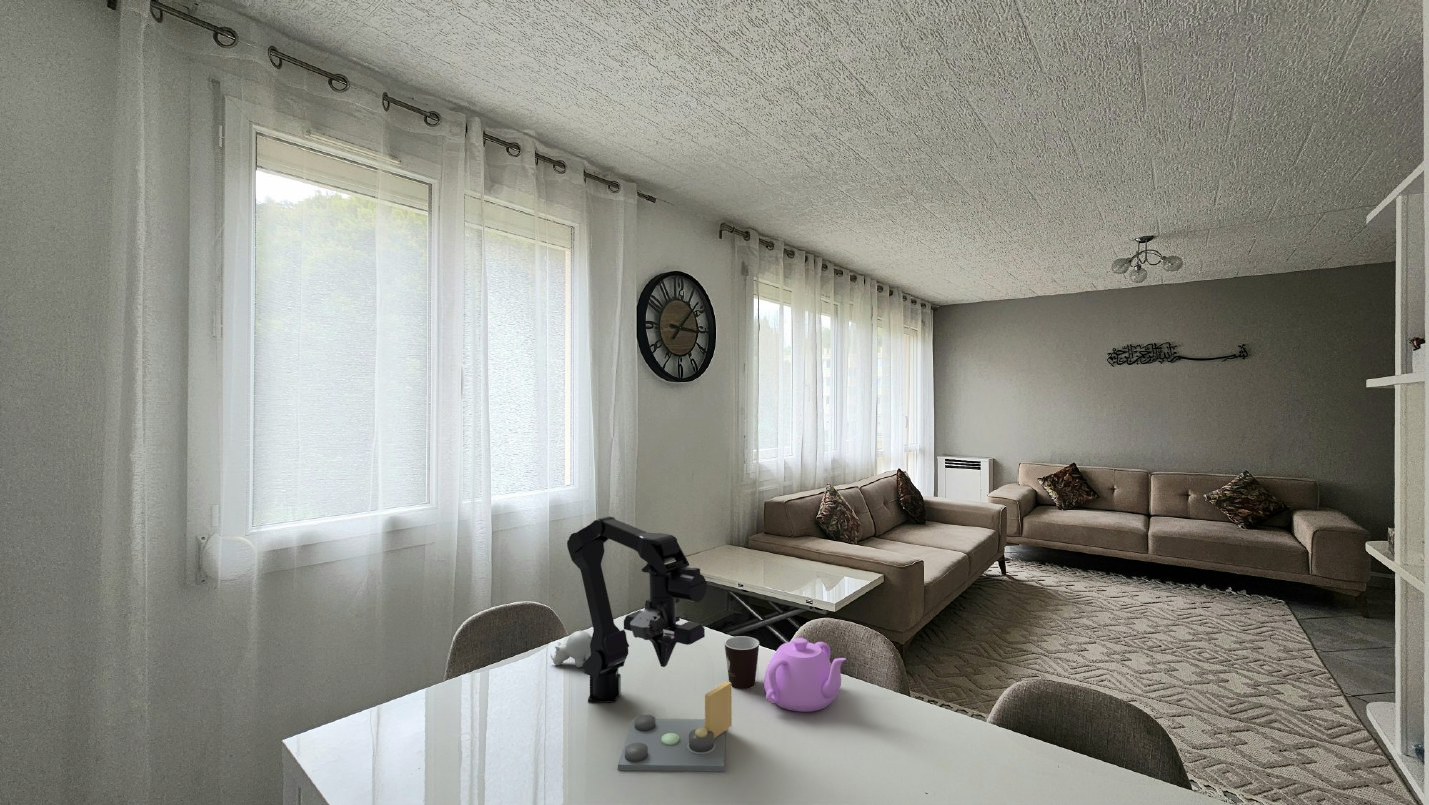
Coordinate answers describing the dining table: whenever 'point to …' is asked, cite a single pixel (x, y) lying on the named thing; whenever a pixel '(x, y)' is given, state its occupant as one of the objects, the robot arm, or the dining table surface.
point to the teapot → (802, 676)
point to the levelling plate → (668, 746)
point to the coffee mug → (742, 661)
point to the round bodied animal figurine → (574, 649)
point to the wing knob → (713, 718)
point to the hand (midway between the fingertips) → (663, 666)
